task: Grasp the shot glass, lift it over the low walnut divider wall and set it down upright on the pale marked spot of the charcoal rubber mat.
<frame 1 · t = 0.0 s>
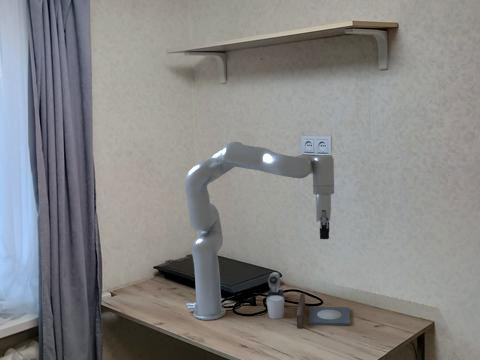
hand: (324, 235, 197), 31 cm above the table, fingers open, 9 cm apart
watch: (276, 299, 222), on the table
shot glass: (276, 316, 204), on the table
divider wall: (301, 316, 203), on the table
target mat: (329, 317, 201), on the table
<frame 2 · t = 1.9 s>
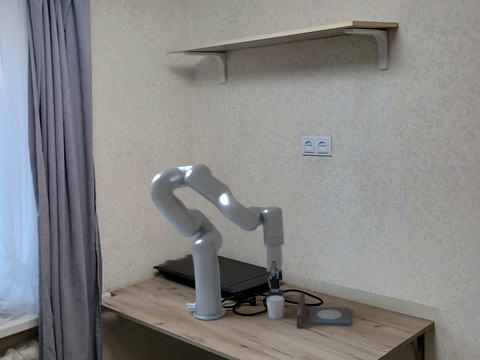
hand: (276, 284, 203), 12 cm above the table, fingers open, 9 cm apart
nothing on the table moved.
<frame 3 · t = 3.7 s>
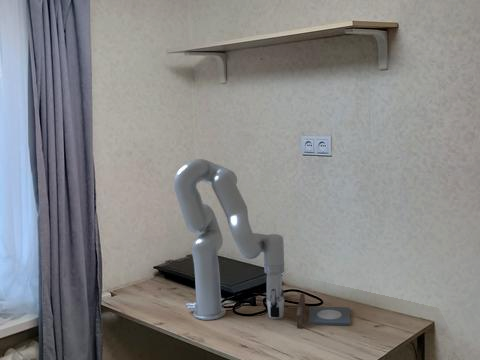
hand: (276, 312, 204), 1 cm above the table, fingers closed on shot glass, 6 cm apart
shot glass: (276, 316, 204), on the table, touching gripper
everything else where it was.
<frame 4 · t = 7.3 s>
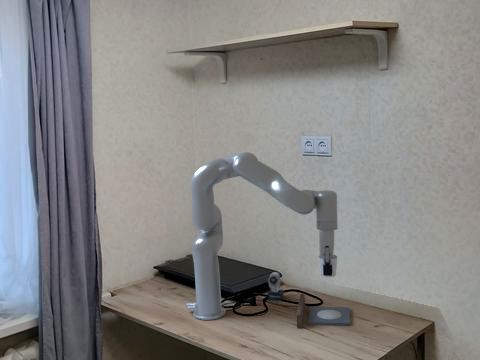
hand: (327, 271, 198), 17 cm above the table, fingers closed on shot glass, 6 cm apart
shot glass: (328, 275, 199), point 16 cm above the table, touching gripper
everything else where it was.
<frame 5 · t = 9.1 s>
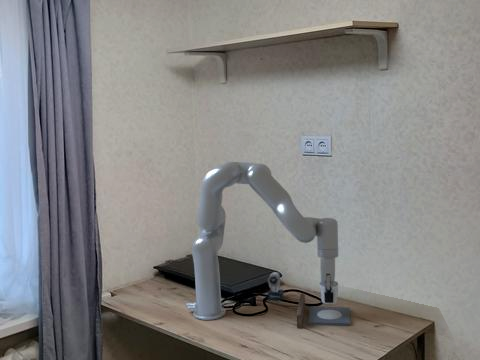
hand: (329, 298, 200), 7 cm above the table, fingers closed on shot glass, 6 cm apart
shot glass: (329, 301, 200), point 6 cm above the table, touching gripper
everything else where it was.
when the fingers open (3 cm above the table, at t = 10.8 s): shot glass drops 1 cm, resting on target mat.
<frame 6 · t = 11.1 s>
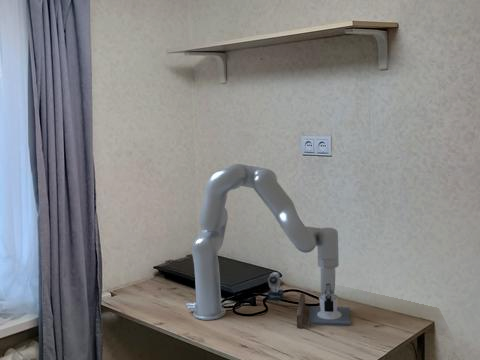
hand: (329, 306, 200), 4 cm above the table, fingers open, 9 cm apart
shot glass: (328, 315, 201), point 1 cm above the table, touching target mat
everything else where it was.
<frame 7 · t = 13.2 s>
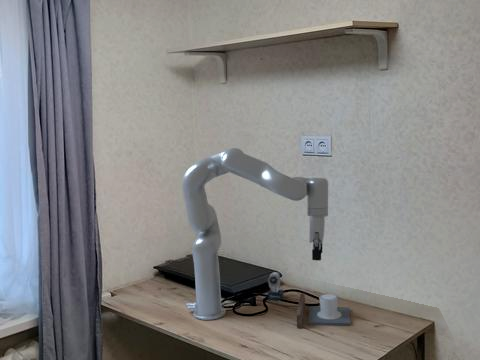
hand: (317, 256, 201), 23 cm above the table, fingers open, 9 cm apart
nothing on the table moved.
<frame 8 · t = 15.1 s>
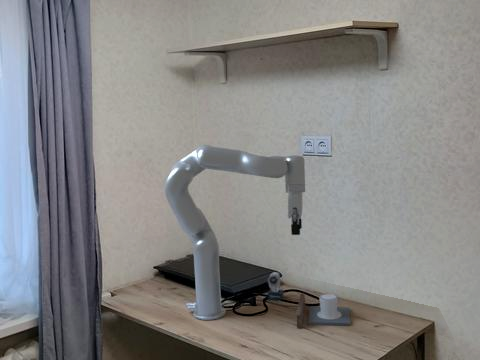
hand: (296, 231, 209), 30 cm above the table, fingers open, 9 cm apart
nothing on the table moved.
at the end: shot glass 0.3 cm off-centre on the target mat, point 0.9 cm above the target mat's base; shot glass tilted 0°; the gripper is holding nothing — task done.
